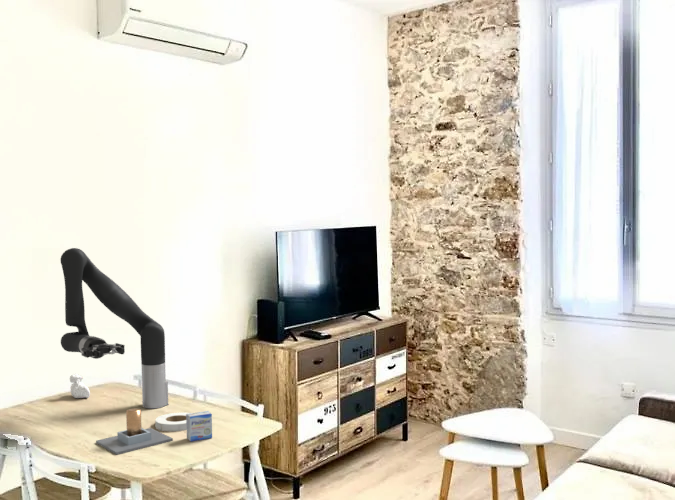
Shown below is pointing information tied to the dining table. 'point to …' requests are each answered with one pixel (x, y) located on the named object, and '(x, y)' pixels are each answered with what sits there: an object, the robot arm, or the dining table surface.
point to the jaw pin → (133, 422)
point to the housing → (133, 441)
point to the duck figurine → (78, 387)
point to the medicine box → (199, 426)
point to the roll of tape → (171, 422)
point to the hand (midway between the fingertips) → (111, 353)
